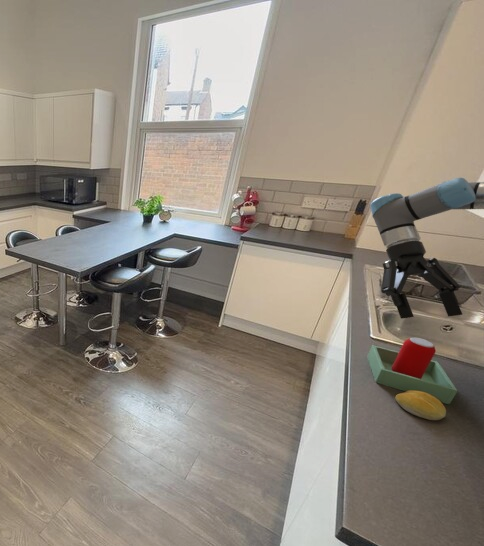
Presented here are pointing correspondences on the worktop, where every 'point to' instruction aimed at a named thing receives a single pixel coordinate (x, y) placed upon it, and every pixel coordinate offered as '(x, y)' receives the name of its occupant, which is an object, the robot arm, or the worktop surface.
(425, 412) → the bread roll
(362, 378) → the worktop surface
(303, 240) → the worktop surface
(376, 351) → the bin
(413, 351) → the beverage can
